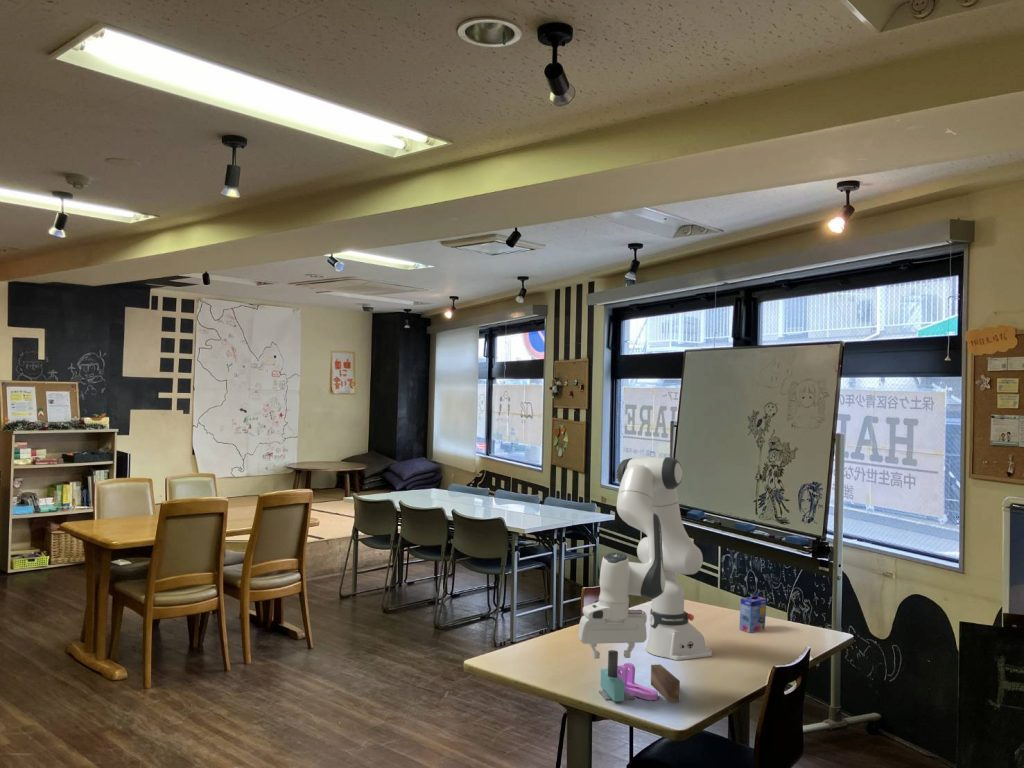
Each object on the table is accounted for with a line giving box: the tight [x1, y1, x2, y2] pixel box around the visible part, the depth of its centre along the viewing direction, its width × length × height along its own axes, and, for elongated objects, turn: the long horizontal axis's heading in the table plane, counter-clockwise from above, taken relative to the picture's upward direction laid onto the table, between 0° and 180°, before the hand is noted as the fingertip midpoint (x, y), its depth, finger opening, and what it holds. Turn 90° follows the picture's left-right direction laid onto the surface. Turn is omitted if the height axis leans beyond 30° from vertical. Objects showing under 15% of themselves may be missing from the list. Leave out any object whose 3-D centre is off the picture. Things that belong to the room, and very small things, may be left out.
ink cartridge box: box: [739, 592, 767, 634], centre depth 290 cm, size 10×6×14 cm, turn 126°
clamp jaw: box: [600, 649, 625, 702], centre depth 219 cm, size 3×12×12 cm, turn 12°
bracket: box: [617, 661, 659, 701], centre depth 221 cm, size 13×6×7 cm, turn 49°
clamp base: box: [598, 664, 681, 704], centre depth 220 cm, size 21×14×6 cm, turn 102°
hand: (611, 657), depth 219 cm, fingers open, 8 cm apart
